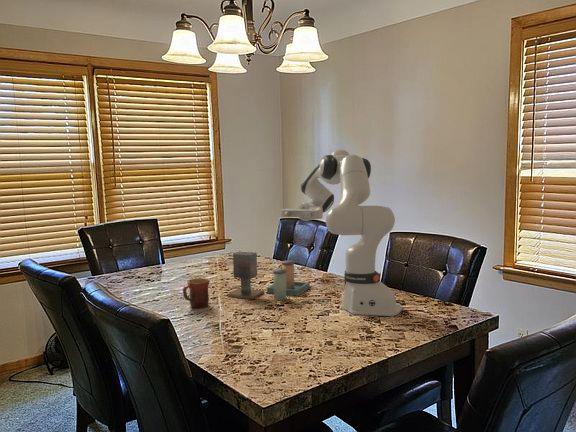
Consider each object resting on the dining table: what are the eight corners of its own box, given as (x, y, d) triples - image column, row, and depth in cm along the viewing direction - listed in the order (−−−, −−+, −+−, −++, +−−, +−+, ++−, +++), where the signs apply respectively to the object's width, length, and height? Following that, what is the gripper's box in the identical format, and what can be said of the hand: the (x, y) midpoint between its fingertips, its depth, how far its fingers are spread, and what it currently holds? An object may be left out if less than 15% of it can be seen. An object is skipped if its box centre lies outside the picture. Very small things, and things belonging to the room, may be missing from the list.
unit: (264, 293, 206) (262, 252, 204) (253, 299, 197) (251, 256, 195) (239, 290, 211) (238, 250, 209) (227, 296, 202) (226, 254, 200)
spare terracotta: (296, 287, 212) (295, 260, 210) (291, 290, 207) (290, 263, 206) (285, 286, 214) (285, 260, 212) (280, 289, 209) (280, 262, 208)
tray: (309, 287, 214) (309, 282, 214) (297, 296, 201) (296, 290, 201) (280, 285, 220) (280, 280, 219) (267, 292, 207) (267, 287, 207)
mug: (200, 301, 196) (199, 277, 195) (215, 305, 191) (214, 279, 189) (177, 309, 186) (175, 283, 185) (192, 313, 181) (191, 286, 180)
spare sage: (288, 297, 199) (287, 269, 198) (283, 301, 194) (282, 272, 193) (277, 296, 201) (276, 268, 200) (271, 299, 196) (270, 271, 195)
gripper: (286, 205, 241) (275, 207, 229) (325, 205, 233) (315, 208, 220) (287, 217, 242) (275, 220, 229) (325, 218, 233) (315, 222, 221)
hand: (295, 214), depth 225 cm, fingers open, 8 cm apart
